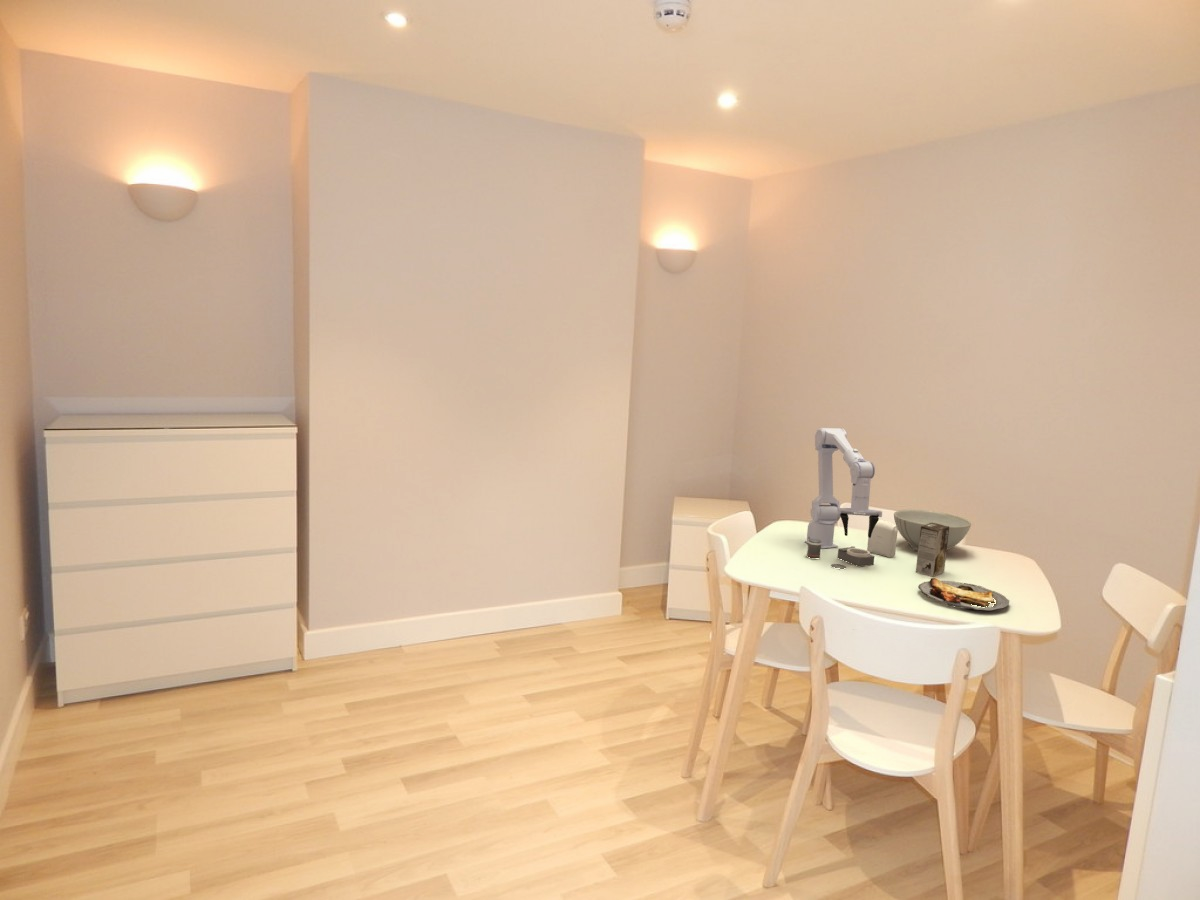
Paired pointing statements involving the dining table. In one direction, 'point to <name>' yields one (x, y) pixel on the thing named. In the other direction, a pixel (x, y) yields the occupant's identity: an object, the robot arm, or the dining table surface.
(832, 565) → the lens cap
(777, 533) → the dining table surface
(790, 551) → the dining table surface
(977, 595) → the food plate
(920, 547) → the coffee box
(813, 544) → the lens
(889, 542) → the photo printer
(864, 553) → the camera body
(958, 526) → the decorative bowl
